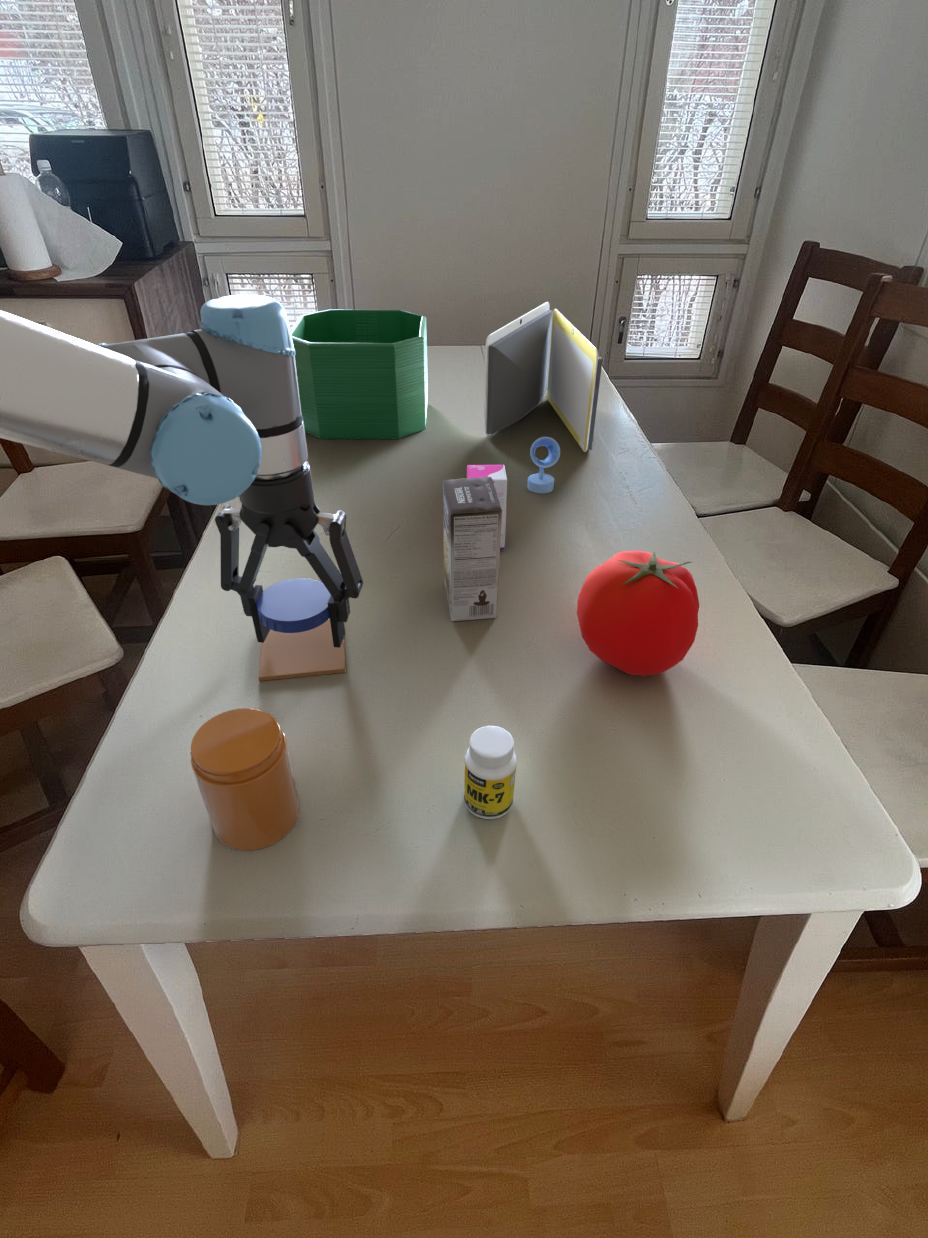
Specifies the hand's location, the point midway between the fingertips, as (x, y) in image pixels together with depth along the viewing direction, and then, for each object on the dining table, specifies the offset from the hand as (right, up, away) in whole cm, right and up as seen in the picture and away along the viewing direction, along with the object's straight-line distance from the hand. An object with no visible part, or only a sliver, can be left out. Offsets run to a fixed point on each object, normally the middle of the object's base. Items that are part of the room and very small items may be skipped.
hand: (301, 637), depth 84 cm
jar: (0, -16, -18) cm, 24 cm away
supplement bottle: (+22, -16, -17) cm, 32 cm away
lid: (0, +4, -3) cm, 5 cm away
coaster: (0, -2, +1) cm, 2 cm away
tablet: (+33, +43, +61) cm, 82 cm away
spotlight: (+33, +25, +37) cm, 55 cm away
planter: (-1, +45, +63) cm, 78 cm away
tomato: (+40, -2, +1) cm, 40 cm away
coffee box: (+20, +5, +10) cm, 23 cm away
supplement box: (+23, +14, +22) cm, 35 cm away
